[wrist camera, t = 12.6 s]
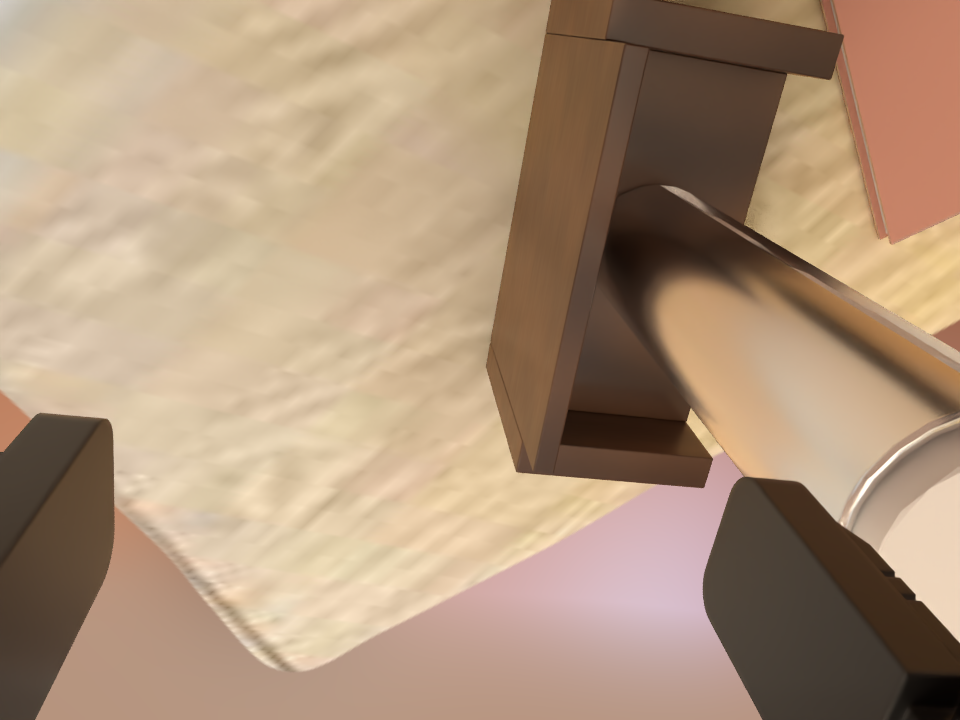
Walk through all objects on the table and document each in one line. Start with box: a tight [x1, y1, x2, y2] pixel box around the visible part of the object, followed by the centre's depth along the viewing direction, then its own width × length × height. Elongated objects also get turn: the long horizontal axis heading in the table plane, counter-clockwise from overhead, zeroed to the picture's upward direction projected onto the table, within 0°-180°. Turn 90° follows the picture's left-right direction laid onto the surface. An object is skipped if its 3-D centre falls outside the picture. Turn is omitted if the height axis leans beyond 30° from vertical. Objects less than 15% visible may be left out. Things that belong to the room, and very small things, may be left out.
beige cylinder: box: [596, 184, 960, 643], centre depth 29 cm, size 6×6×25 cm
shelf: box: [486, 0, 844, 488], centre depth 41 cm, size 22×10×16 cm, turn 171°
